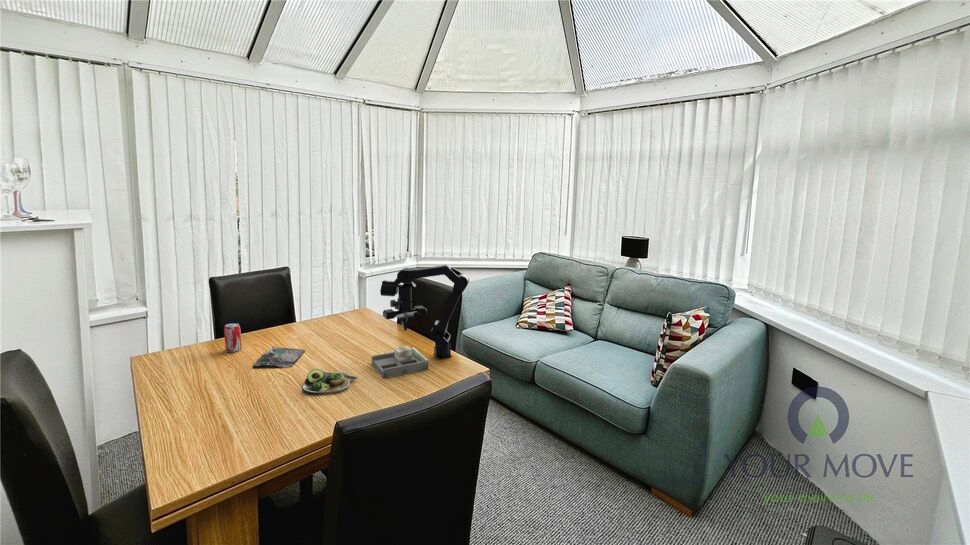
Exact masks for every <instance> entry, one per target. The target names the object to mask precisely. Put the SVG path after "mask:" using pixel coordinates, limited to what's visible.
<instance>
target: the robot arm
mask: <svg viewBox="0 0 970 545" xmlns="http://www.w3.org/2000/svg"><path fill="white" fill-rule="evenodd" d="M437 276H445V277H446V278H448V280H449V281H451V282H452V283H453V285H452V286H453V287H452V291H451V295H450V297H449V300H448V301H447V304H446V306H445V309H444V310H443V313H442V314H441V318H440V319H439V320H435V322H434V324H433V327H432V328H431V330H430V333H431V334H430V337H431V339H432V340H433V341H434V343H435V344H434V347H433V349H434V350H433V356H434V357H435V358H437V359H438V360H444V359H449V358H453V355H452V354H451V352H452V351H451V349H452V344H451V342H450V340H451V337H452V335H451V334H450V332H448V326H449V321H450V319H451V317H452V314H453V313H454V310H455V308H456V305H457V303H458V302H459V300H460V297H461V295H462V294H463V292H464V291H465V290H466V288H467V287H468V285H469V284H470V276H469V275H468V274H466V273H464V272H463V273H462V272H461V271H460V270H458V269H456V268H455V267H452V266H451V265H450V264H448V263H447V264H443V265H437V266H435V265H434V266H430V267H428V266H427V267H421V268H415V267H404V268H401V269H400V270H399V271H398V272H397V274H396V278H395V279H394V281H393V280H386V279H385V280H384V279H383V280H382V281H381V286H380V289H379V290H380V291H379V293H380V296H381V297H396V295H397V296H398V297H397V301H396V299H390V300H389V305H390V309H384V310H383V311H382V316H383V318H384V319H385V320H393V319H395V318H397V319H398V320H399V321H400V324H401V326H402V329H403V331H404V332H406V331H407V330H408V328H409V326H410V324H411V322H412V320H413V319H415V318H416V316H415V314H416V313H417V314H418V315H421V316H423V315H427V314H428V313H427V312H428V310H427V308H426V307H424V306H423V305H415V306H414V307H412V306H413V305H412V303H413V299H412V293H413V292H412V291H413V290H412V289H415V288H416V287H417V284H416V283H414V281H415V280H418V279H422V278H428V277H437ZM409 282H410V283H409ZM391 308H394V309H395V310H393V309H391Z"/></svg>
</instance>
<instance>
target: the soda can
mask: <svg viewBox="0 0 970 545" xmlns="http://www.w3.org/2000/svg"><path fill="white" fill-rule="evenodd" d="M241 333H242V332H241V326H240V324H239V323H238V322H237V323H234V322H231V323H227V324H225V325H224V328H223V334H224V344H225V346H224V347H225V351H226V352H228V353H231V352H232V353H237V352H236V351H238V352H240V351H241V350H242V349H243V346H242V345H243V344H242V334H241ZM239 350H240V351H239Z"/></svg>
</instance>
